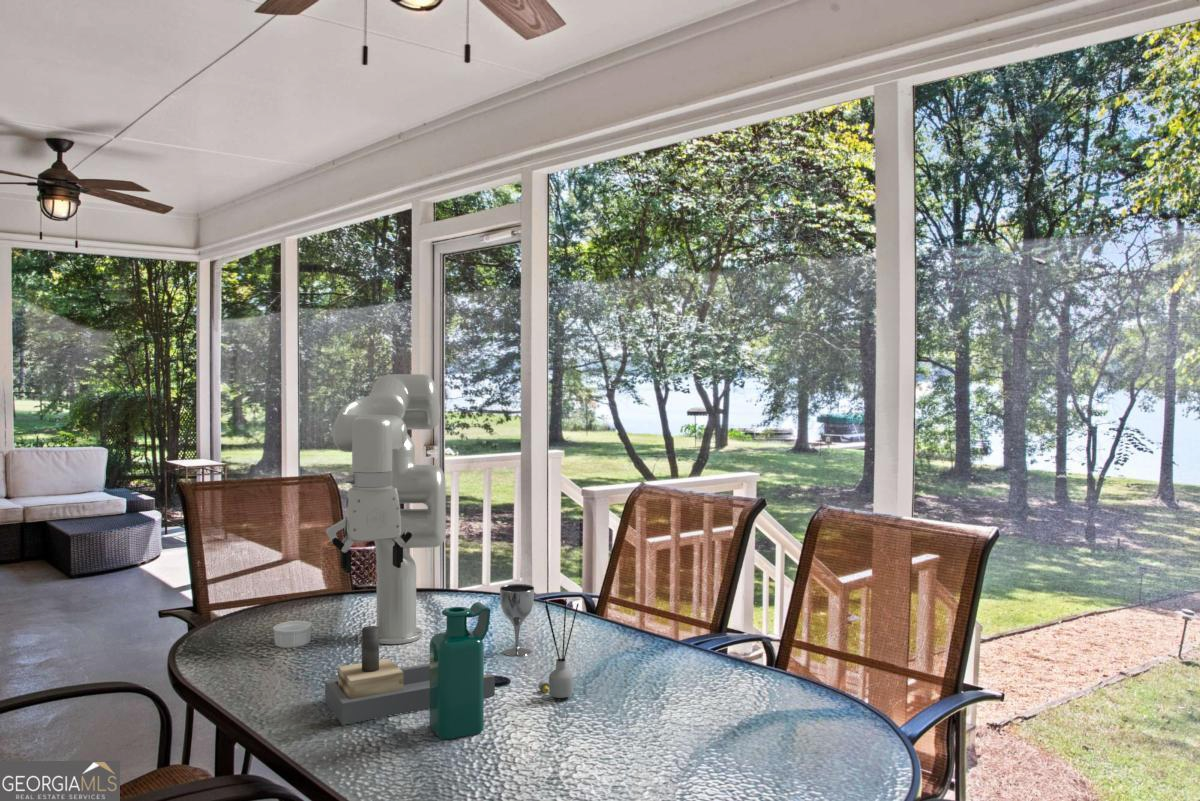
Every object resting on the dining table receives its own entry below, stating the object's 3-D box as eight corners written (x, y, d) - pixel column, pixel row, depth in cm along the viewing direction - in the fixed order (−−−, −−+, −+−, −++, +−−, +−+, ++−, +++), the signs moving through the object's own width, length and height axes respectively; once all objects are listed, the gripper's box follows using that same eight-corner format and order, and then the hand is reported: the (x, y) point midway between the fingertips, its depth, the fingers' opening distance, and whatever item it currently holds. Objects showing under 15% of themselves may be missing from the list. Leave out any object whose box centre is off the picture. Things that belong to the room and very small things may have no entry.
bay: (325, 701, 167) (325, 679, 167) (468, 675, 183) (468, 656, 182) (342, 725, 155) (342, 702, 155) (494, 696, 170) (494, 675, 170)
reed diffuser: (586, 698, 169) (586, 598, 169) (565, 709, 164) (565, 605, 163) (546, 687, 175) (546, 590, 175) (524, 697, 170) (524, 597, 169)
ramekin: (304, 649, 201) (304, 630, 201) (266, 648, 201) (266, 630, 201) (317, 638, 210) (317, 620, 210) (281, 637, 210) (281, 620, 210)
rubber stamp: (338, 697, 166) (338, 625, 166) (388, 688, 172) (388, 618, 171) (350, 713, 158) (350, 638, 158) (403, 703, 163) (403, 630, 163)
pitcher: (440, 742, 148) (440, 616, 148) (426, 725, 156) (427, 605, 155) (493, 732, 153) (494, 609, 152) (478, 716, 160) (478, 599, 160)
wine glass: (536, 647, 203) (536, 584, 203) (530, 657, 195) (530, 592, 195) (503, 646, 204) (503, 583, 203) (496, 656, 196) (496, 591, 196)
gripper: (331, 485, 157) (331, 577, 157) (422, 480, 166) (421, 568, 166) (321, 481, 163) (321, 570, 163) (409, 477, 172) (409, 561, 172)
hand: (372, 569), depth 165 cm, fingers open, 9 cm apart
